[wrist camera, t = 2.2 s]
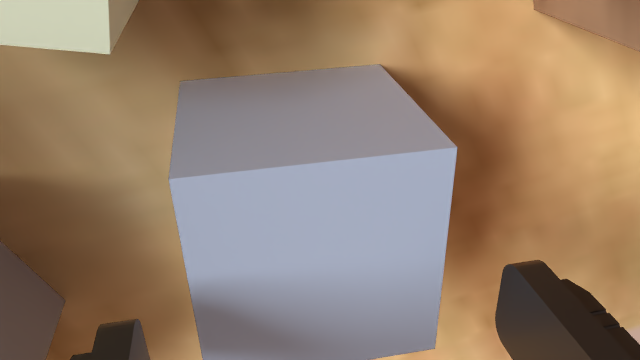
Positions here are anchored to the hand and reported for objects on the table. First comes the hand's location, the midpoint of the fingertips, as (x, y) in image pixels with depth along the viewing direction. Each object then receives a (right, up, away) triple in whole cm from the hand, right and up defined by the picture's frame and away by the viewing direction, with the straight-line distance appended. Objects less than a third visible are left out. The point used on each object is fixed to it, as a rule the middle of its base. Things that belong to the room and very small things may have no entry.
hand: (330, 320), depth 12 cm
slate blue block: (-1, +4, +6) cm, 7 cm away
